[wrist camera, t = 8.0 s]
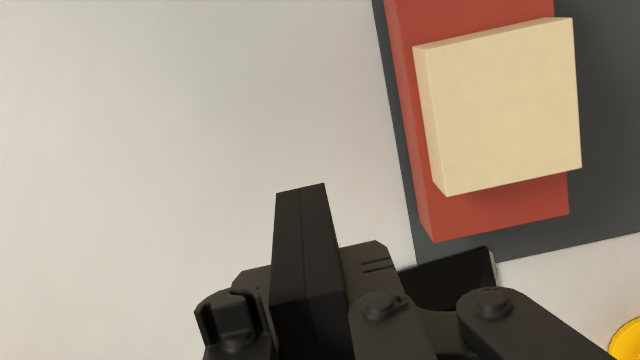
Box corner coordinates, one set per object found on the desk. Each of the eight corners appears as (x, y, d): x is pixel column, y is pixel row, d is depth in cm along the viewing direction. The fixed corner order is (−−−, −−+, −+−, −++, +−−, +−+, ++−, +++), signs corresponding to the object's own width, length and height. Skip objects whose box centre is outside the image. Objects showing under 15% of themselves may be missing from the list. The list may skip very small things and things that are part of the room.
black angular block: (379, 274, 35) (392, 313, 30) (489, 242, 34) (519, 276, 30) (423, 424, 38) (441, 478, 34) (523, 396, 38) (554, 447, 34)
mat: (362, -50, 29) (363, -50, 29) (656, -115, 29) (658, -116, 29) (419, 278, 35) (420, 279, 35) (662, 225, 35) (664, 226, 35)
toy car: (405, -8, 23) (579, -46, 23) (378, -3, 30) (513, -32, 29) (447, 264, 27) (595, 232, 27) (415, 214, 33) (534, 189, 33)
